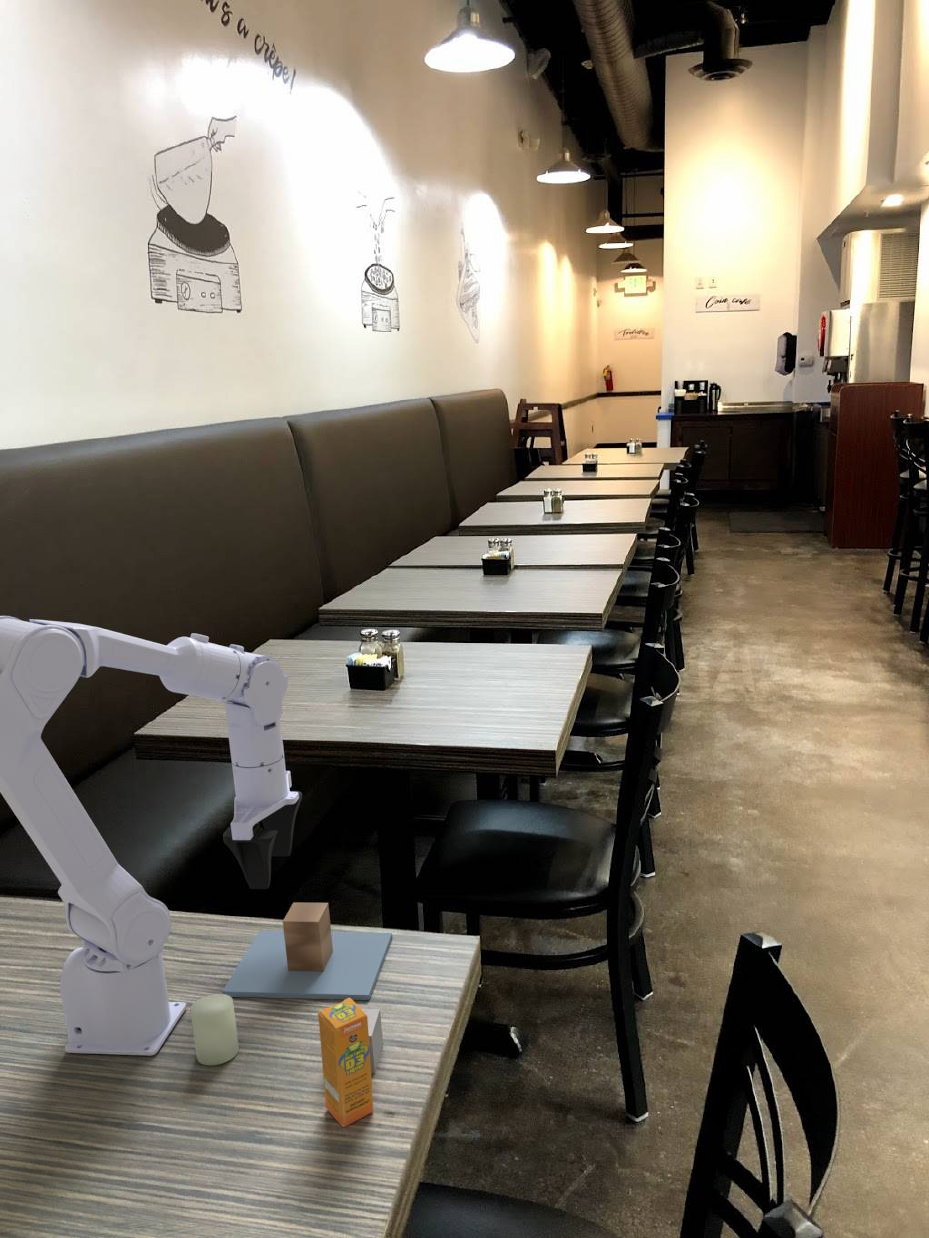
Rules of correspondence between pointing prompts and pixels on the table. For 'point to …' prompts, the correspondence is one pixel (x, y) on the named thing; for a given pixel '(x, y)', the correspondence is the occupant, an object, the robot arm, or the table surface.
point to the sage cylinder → (214, 1029)
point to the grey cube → (374, 1036)
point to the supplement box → (346, 1061)
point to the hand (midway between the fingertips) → (270, 870)
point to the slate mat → (341, 979)
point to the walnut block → (308, 937)
